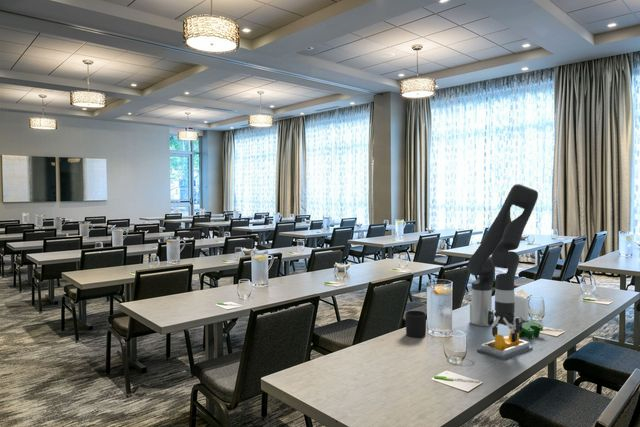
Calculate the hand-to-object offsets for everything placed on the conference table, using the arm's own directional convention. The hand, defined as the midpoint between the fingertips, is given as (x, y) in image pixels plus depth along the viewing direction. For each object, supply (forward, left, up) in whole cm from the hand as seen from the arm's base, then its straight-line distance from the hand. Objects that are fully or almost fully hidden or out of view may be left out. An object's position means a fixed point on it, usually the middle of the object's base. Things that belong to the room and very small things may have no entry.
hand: (504, 339), depth 186 cm
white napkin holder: (-23, +45, -5) cm, 51 cm away
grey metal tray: (0, 0, -5) cm, 5 cm away
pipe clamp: (0, 0, -4) cm, 4 cm away
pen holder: (-36, -14, -5) cm, 39 cm away
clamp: (-4, +24, -5) cm, 25 cm away
